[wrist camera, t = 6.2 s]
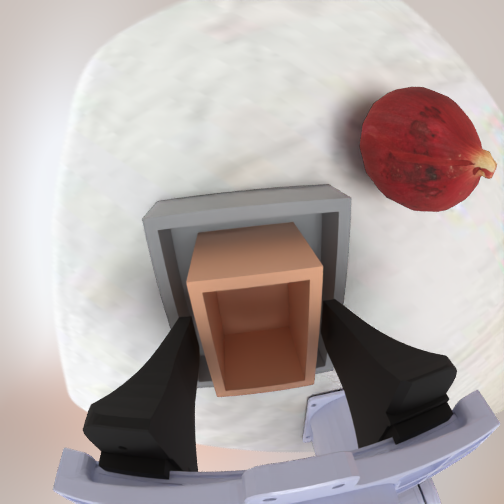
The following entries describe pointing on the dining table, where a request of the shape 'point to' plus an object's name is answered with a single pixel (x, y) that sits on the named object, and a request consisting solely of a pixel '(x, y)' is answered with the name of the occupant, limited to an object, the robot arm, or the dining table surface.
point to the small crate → (257, 307)
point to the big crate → (246, 215)
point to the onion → (423, 150)
